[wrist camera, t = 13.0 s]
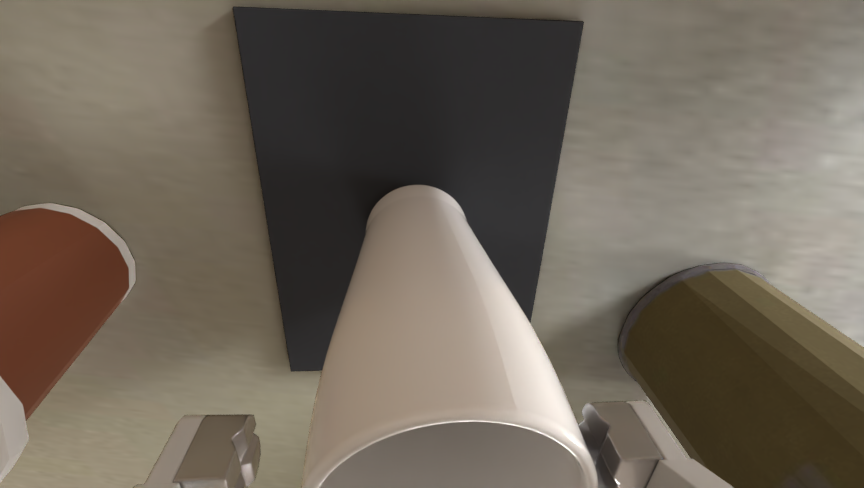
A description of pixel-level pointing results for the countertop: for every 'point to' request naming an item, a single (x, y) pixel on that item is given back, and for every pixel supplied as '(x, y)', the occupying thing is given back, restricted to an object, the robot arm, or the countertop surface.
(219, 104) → the countertop surface
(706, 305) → the canister
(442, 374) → the white tapered cylinder
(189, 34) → the countertop surface
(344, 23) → the place mat
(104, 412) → the countertop surface
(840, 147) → the countertop surface
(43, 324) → the coffee cup
